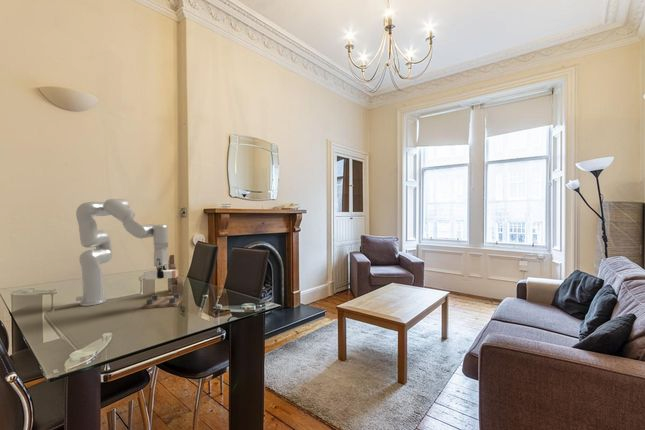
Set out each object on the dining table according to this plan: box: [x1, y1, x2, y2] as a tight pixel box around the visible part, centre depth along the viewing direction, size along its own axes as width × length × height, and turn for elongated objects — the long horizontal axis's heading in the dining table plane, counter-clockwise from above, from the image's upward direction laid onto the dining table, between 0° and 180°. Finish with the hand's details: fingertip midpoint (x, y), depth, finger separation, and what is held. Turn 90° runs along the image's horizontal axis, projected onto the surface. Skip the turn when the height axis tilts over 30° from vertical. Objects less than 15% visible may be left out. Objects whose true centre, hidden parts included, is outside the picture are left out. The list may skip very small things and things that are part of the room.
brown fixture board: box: [141, 293, 184, 310], centre depth 178 cm, size 18×14×4 cm
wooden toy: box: [167, 254, 184, 296], centre depth 201 cm, size 15×7×25 cm, turn 38°
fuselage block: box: [145, 268, 179, 280], centre depth 177 cm, size 16×5×4 cm, turn 100°
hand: (162, 276), depth 177 cm, fingers closed on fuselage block, 5 cm apart
